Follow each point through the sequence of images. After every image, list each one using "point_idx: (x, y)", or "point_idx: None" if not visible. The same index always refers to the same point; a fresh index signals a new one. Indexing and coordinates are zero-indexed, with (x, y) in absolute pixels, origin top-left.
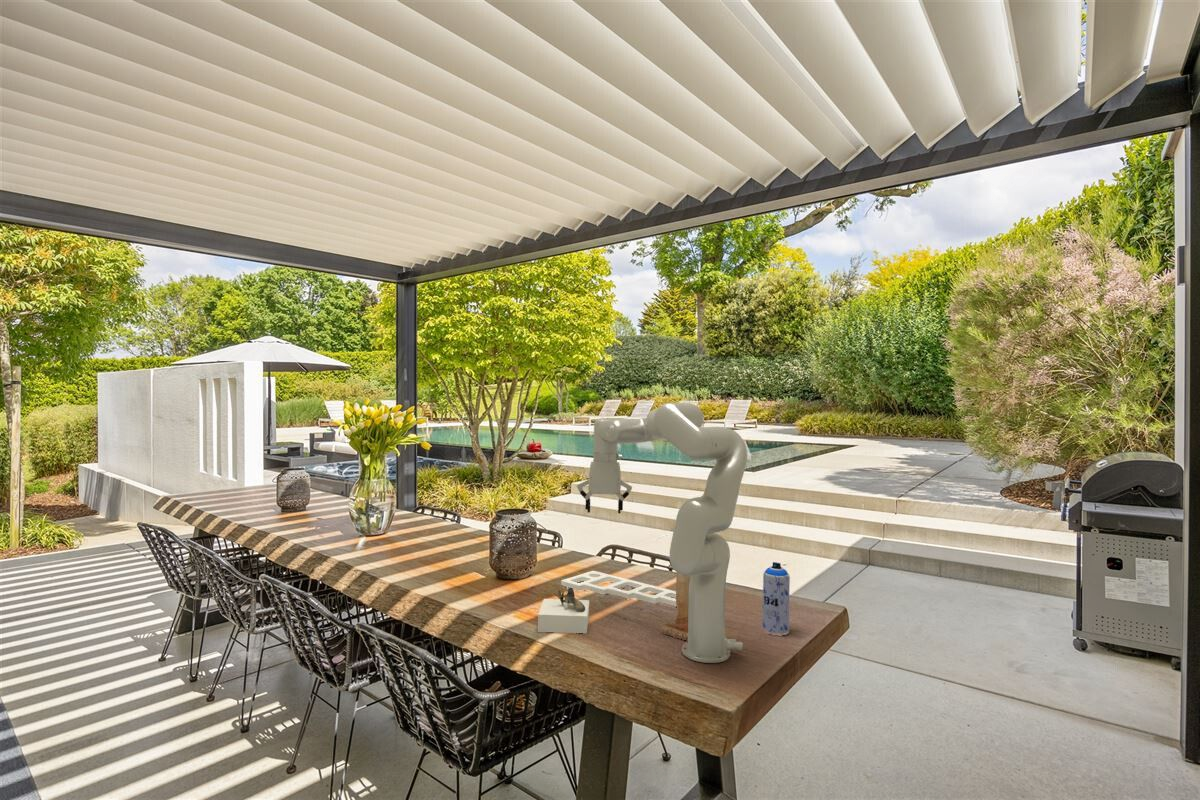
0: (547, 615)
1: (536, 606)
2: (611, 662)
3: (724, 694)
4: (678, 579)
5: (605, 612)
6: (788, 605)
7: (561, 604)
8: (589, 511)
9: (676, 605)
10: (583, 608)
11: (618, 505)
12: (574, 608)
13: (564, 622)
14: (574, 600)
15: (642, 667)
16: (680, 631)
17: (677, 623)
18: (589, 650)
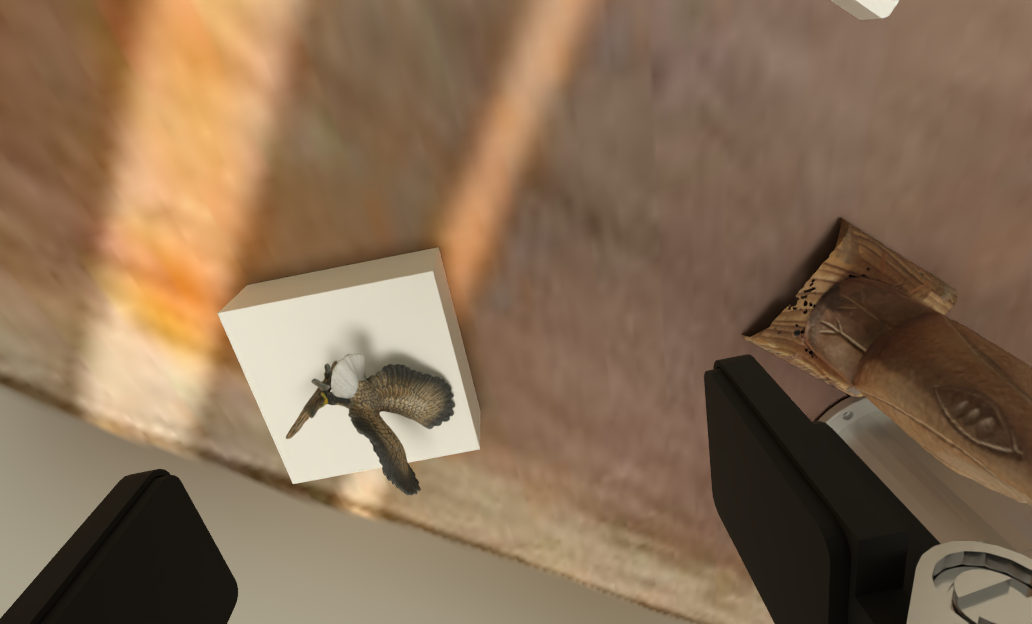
0: (329, 475)
1: (157, 187)
2: (597, 559)
3: None
4: (948, 460)
5: (496, 173)
6: None
7: (330, 359)
8: (230, 606)
9: (845, 2)
10: (445, 399)
11: (776, 618)
12: None
13: None
14: (398, 409)
15: (681, 562)
16: (819, 372)
17: (822, 359)
18: (521, 513)
